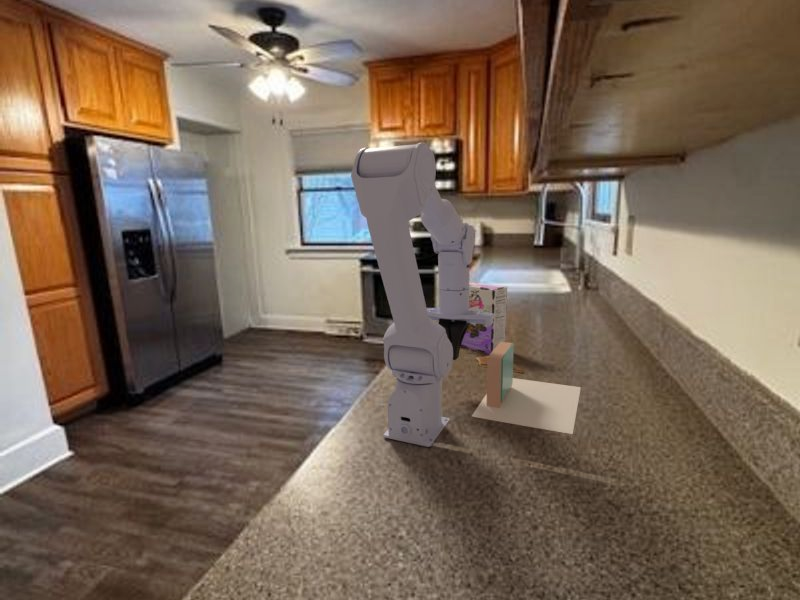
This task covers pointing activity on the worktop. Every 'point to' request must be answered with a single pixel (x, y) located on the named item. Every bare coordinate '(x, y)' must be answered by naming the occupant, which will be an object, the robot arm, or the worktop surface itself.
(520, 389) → the cutting board
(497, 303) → the candy box
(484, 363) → the shard
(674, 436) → the worktop surface
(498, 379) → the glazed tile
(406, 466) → the worktop surface
